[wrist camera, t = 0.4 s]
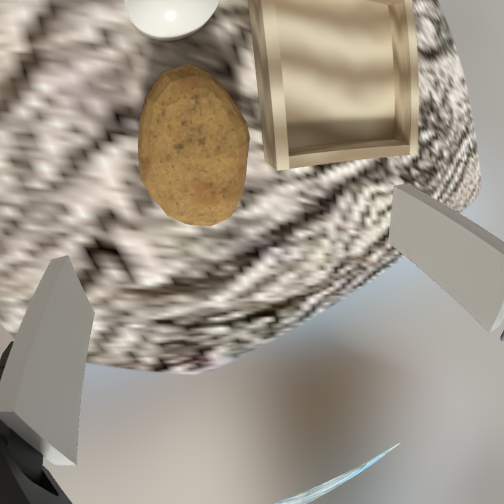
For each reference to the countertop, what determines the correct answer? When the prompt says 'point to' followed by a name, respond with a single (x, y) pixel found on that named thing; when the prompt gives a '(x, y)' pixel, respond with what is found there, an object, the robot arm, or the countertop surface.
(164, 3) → the white rounded piece
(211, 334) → the countertop surface
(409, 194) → the robot arm
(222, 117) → the potato
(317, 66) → the tray
